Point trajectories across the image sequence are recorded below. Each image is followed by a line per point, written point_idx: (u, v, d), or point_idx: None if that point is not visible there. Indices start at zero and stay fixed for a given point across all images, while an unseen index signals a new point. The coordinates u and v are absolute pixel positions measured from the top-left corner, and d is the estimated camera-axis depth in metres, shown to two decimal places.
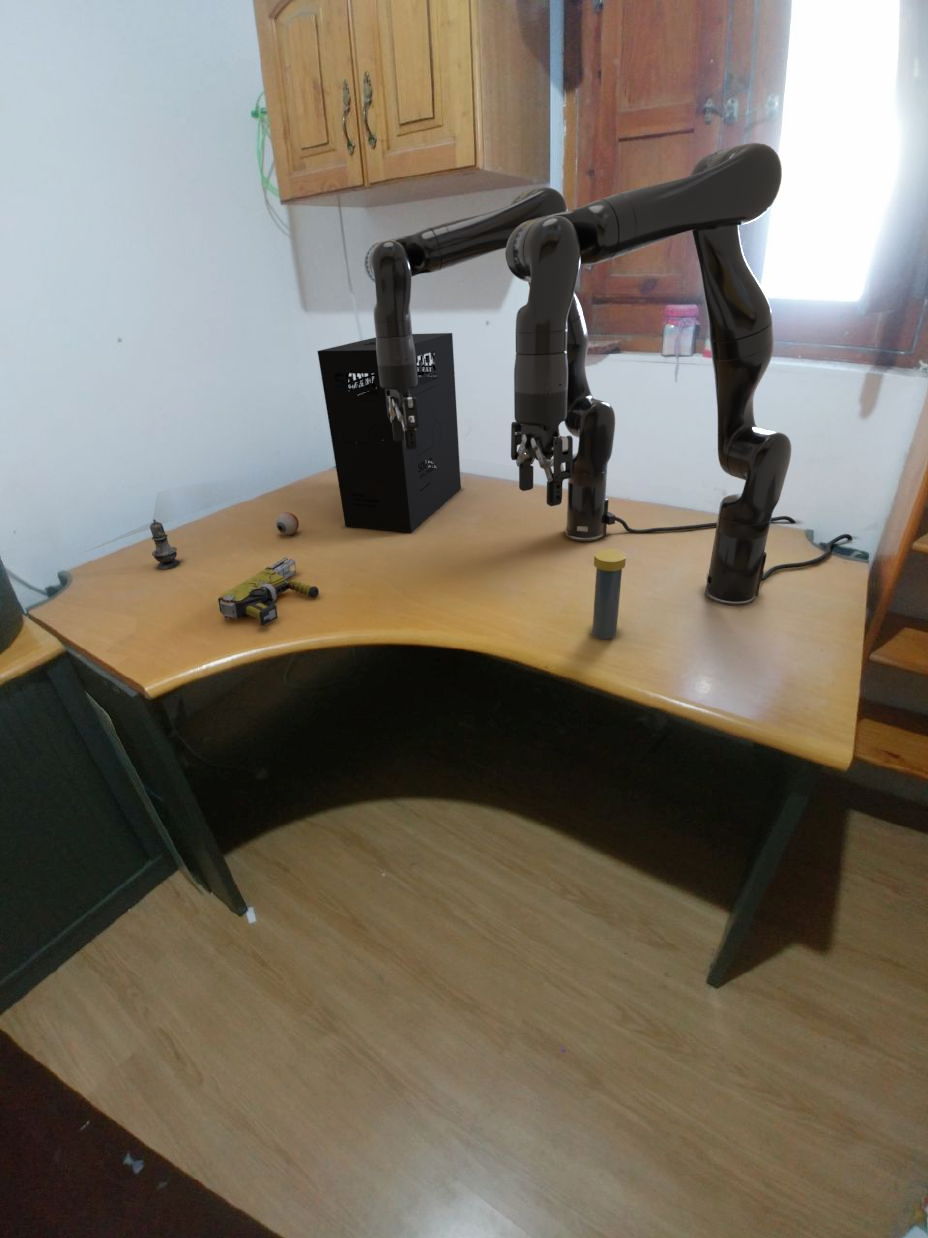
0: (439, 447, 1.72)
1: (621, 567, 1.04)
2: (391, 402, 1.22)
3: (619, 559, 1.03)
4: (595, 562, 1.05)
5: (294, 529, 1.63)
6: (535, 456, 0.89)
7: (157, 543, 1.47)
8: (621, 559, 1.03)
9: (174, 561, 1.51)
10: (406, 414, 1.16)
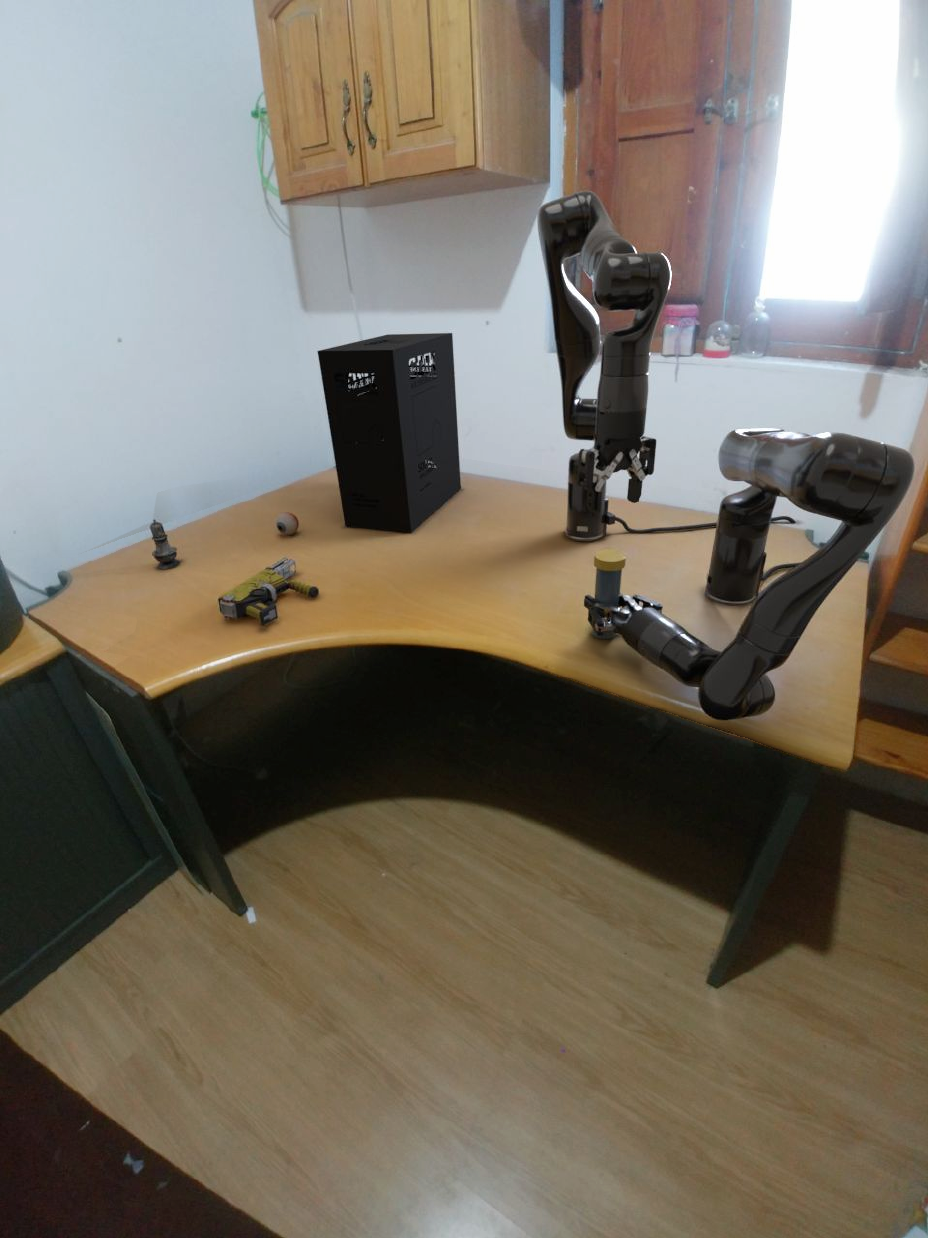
0: (439, 447, 1.72)
1: (621, 567, 1.04)
2: None
3: (619, 559, 1.03)
4: (595, 562, 1.05)
5: (294, 529, 1.63)
6: None
7: (157, 543, 1.47)
8: (621, 559, 1.03)
9: (174, 561, 1.51)
10: None
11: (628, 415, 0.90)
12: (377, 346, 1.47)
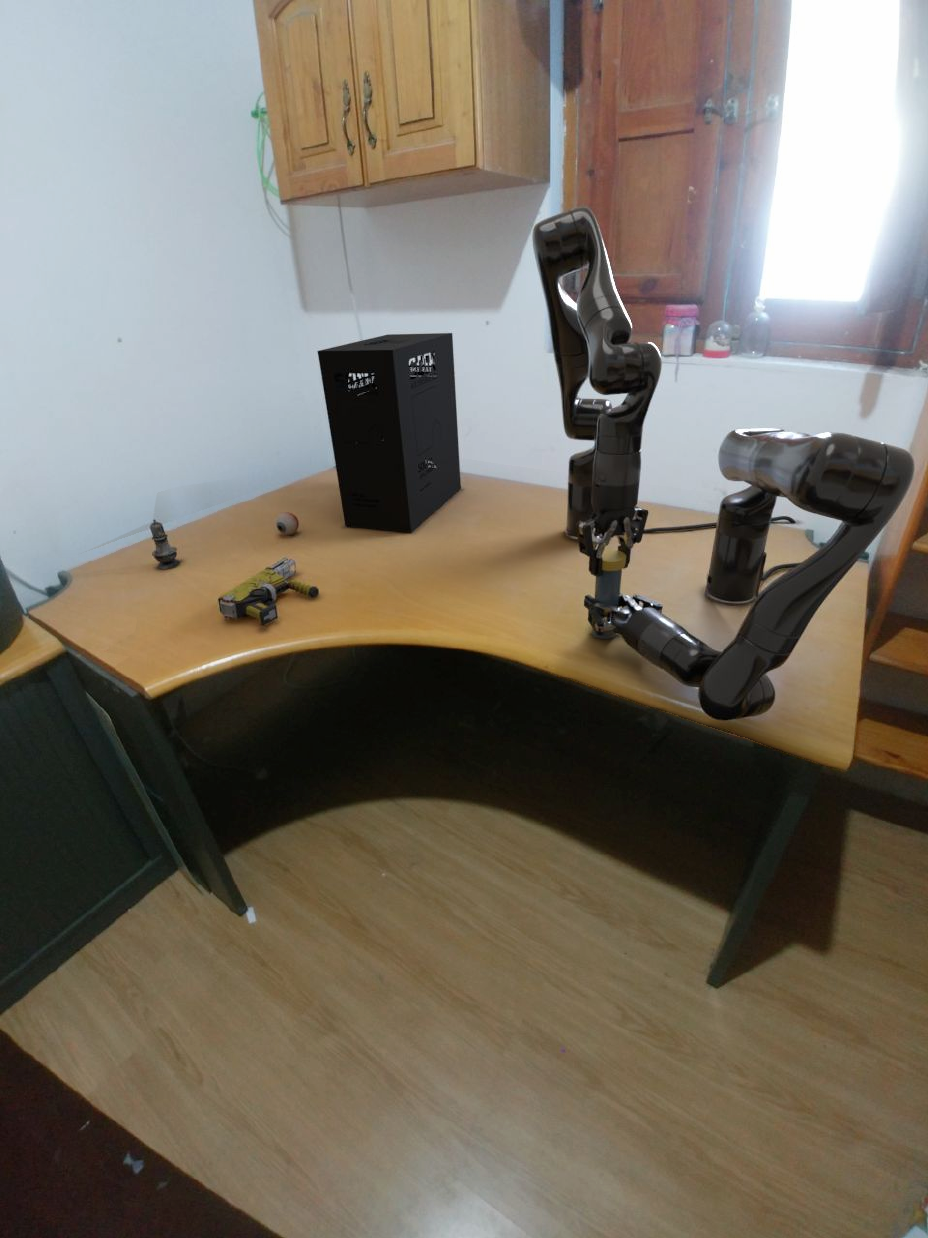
0: (439, 447, 1.72)
1: (621, 567, 1.04)
2: None
3: (619, 559, 1.03)
4: None
5: (294, 529, 1.63)
6: None
7: (157, 543, 1.47)
8: (621, 559, 1.03)
9: (174, 561, 1.51)
10: None
11: (622, 489, 0.95)
12: (377, 346, 1.47)
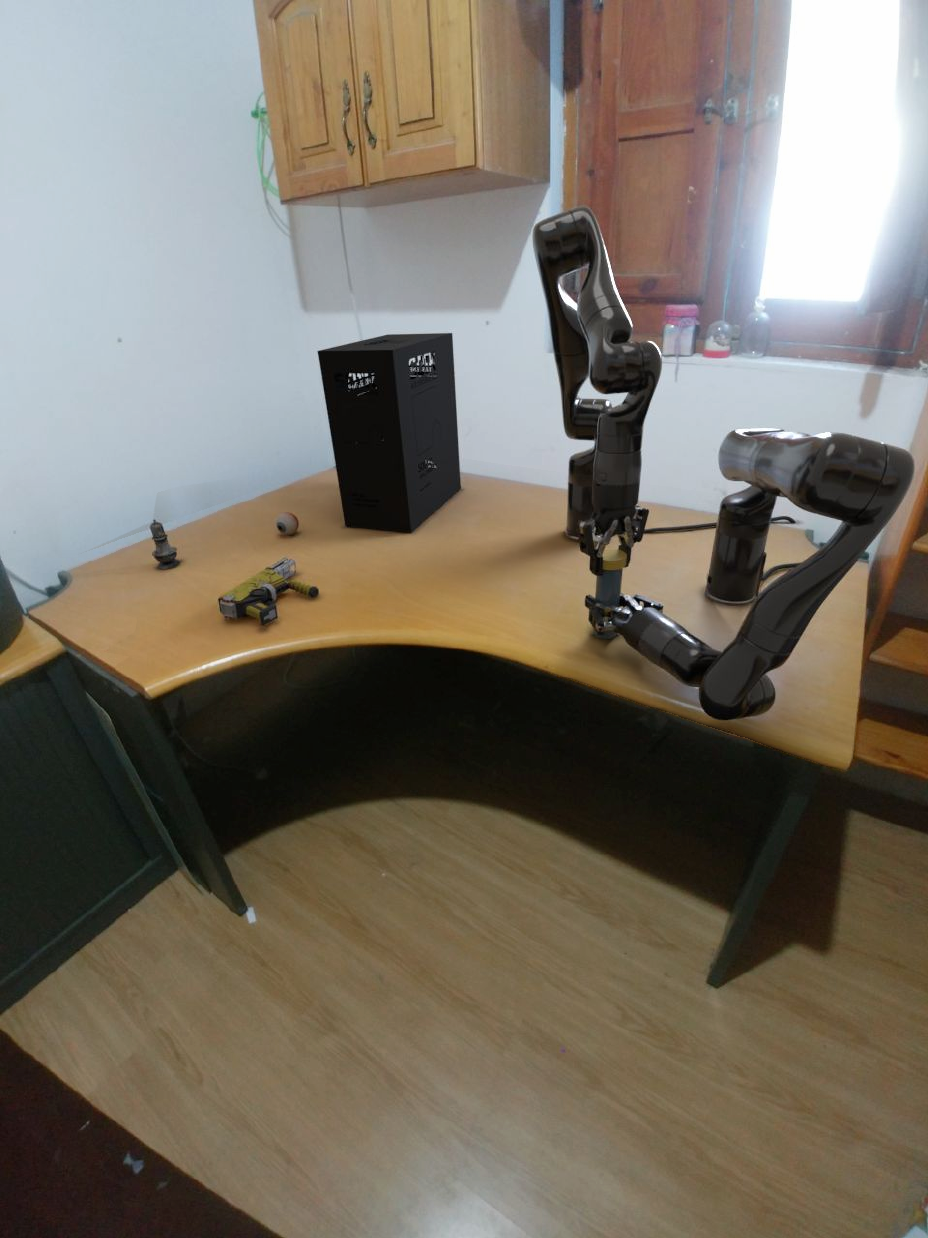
0: (439, 447, 1.72)
1: None
2: None
3: (620, 551, 1.06)
4: (617, 565, 1.03)
5: (294, 529, 1.63)
6: None
7: (157, 543, 1.47)
8: (619, 550, 1.06)
9: (174, 561, 1.51)
10: None
11: (622, 488, 0.95)
12: (377, 346, 1.47)
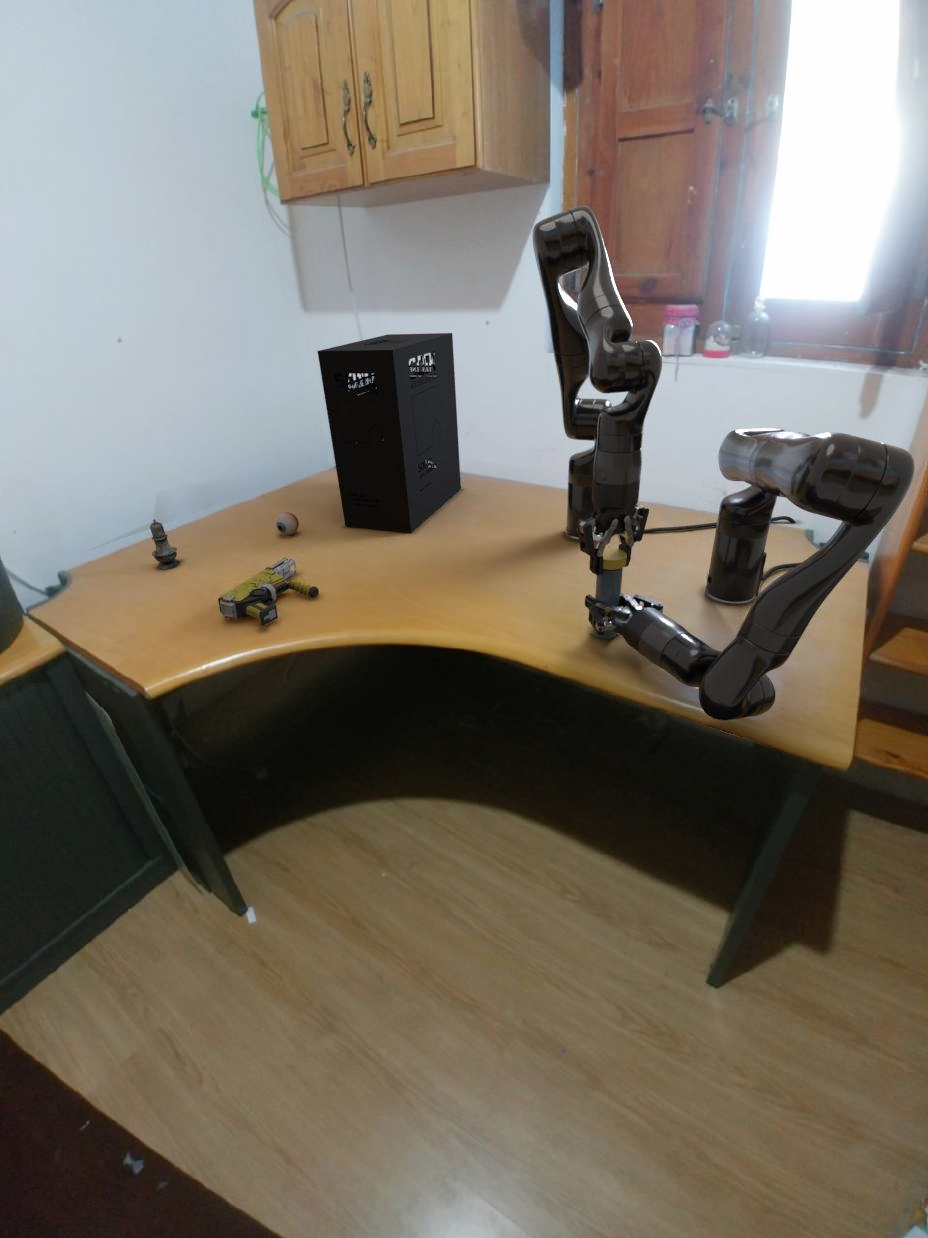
0: (439, 447, 1.72)
1: None
2: None
3: None
4: None
5: (294, 529, 1.63)
6: None
7: (157, 543, 1.47)
8: None
9: (174, 561, 1.51)
10: None
11: (623, 487, 0.95)
12: (377, 346, 1.47)
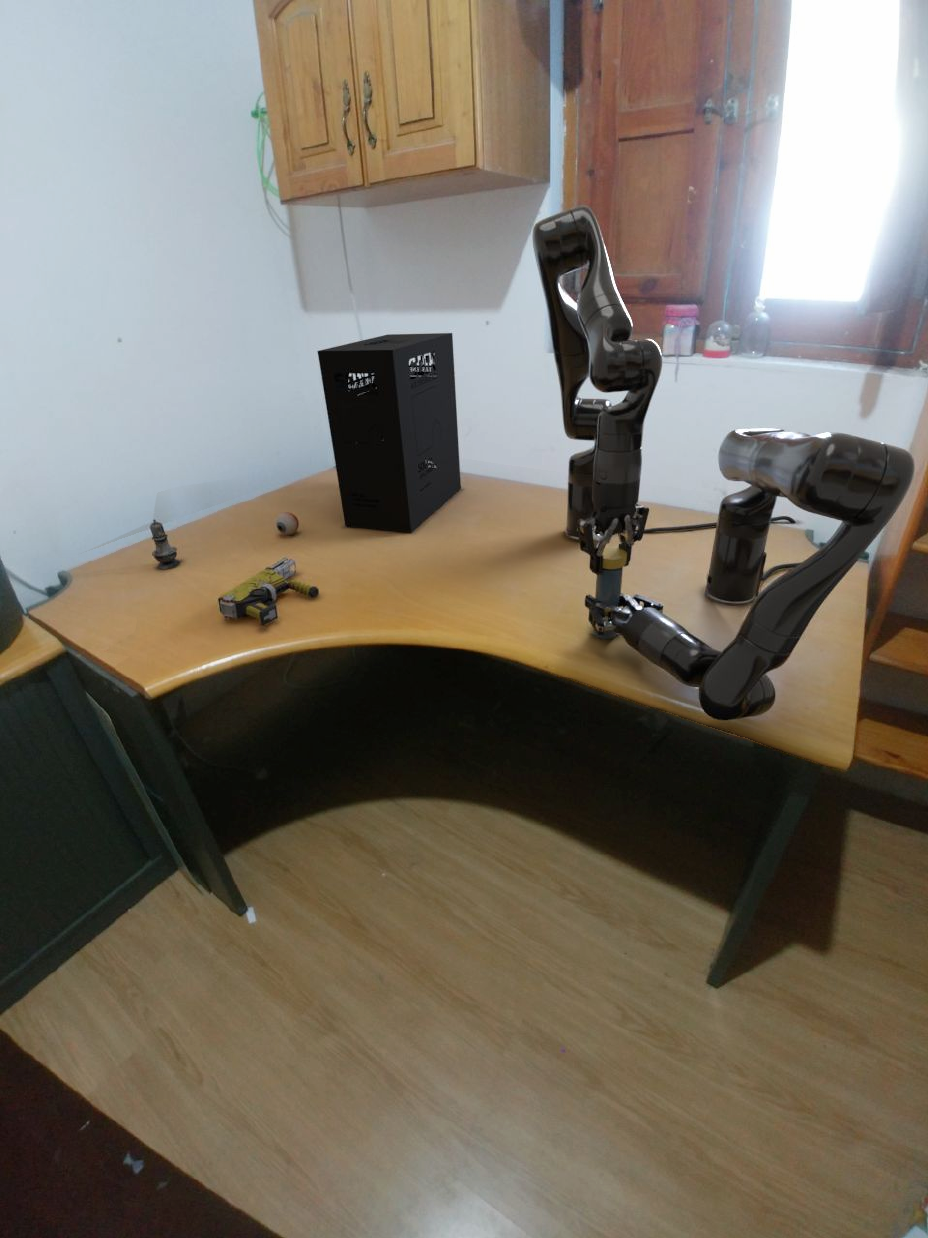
0: (439, 447, 1.72)
1: None
2: None
3: None
4: None
5: (294, 529, 1.63)
6: None
7: (157, 543, 1.47)
8: None
9: (174, 561, 1.51)
10: None
11: (623, 486, 0.95)
12: (377, 346, 1.47)
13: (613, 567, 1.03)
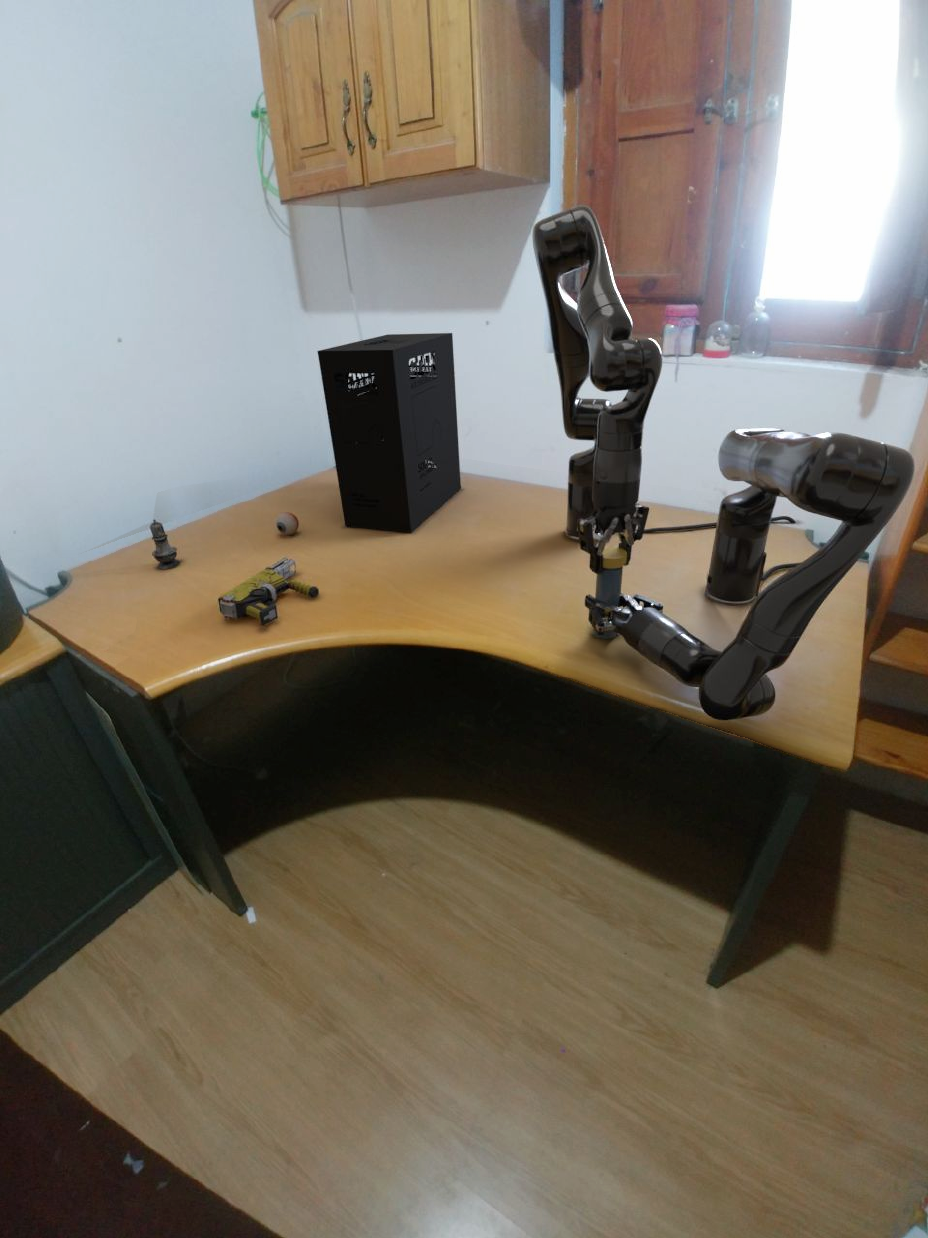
0: (439, 447, 1.72)
1: (623, 564, 1.04)
2: None
3: (621, 556, 1.03)
4: None
5: (294, 529, 1.63)
6: None
7: (157, 543, 1.47)
8: (623, 556, 1.03)
9: (174, 561, 1.51)
10: None
11: (623, 486, 0.95)
12: (377, 346, 1.47)
13: None
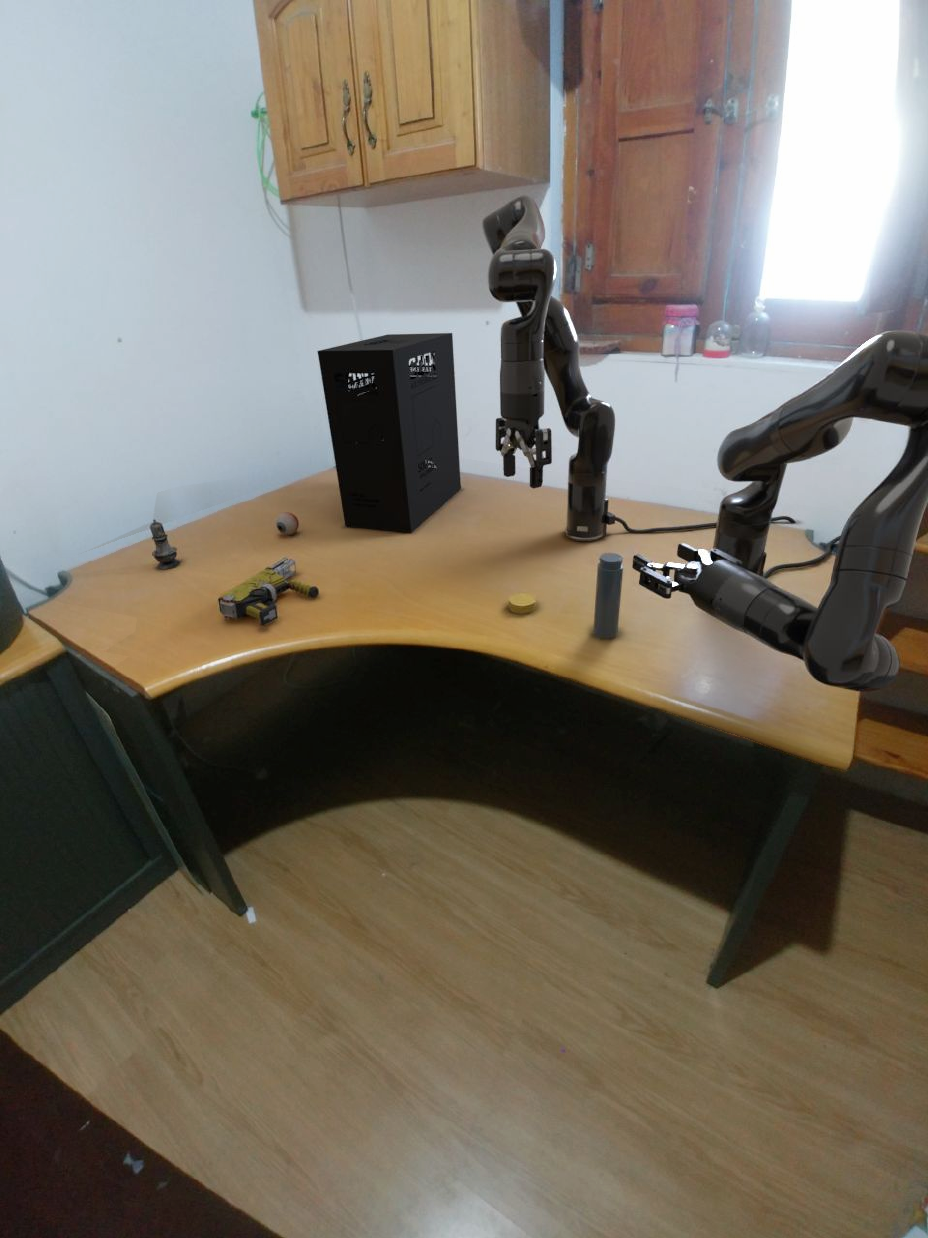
0: (439, 447, 1.72)
1: None
2: None
3: (530, 595, 1.23)
4: (527, 609, 1.21)
5: (294, 529, 1.63)
6: None
7: (157, 543, 1.47)
8: (530, 595, 1.24)
9: (174, 561, 1.51)
10: None
11: None
12: (377, 346, 1.47)
13: None
